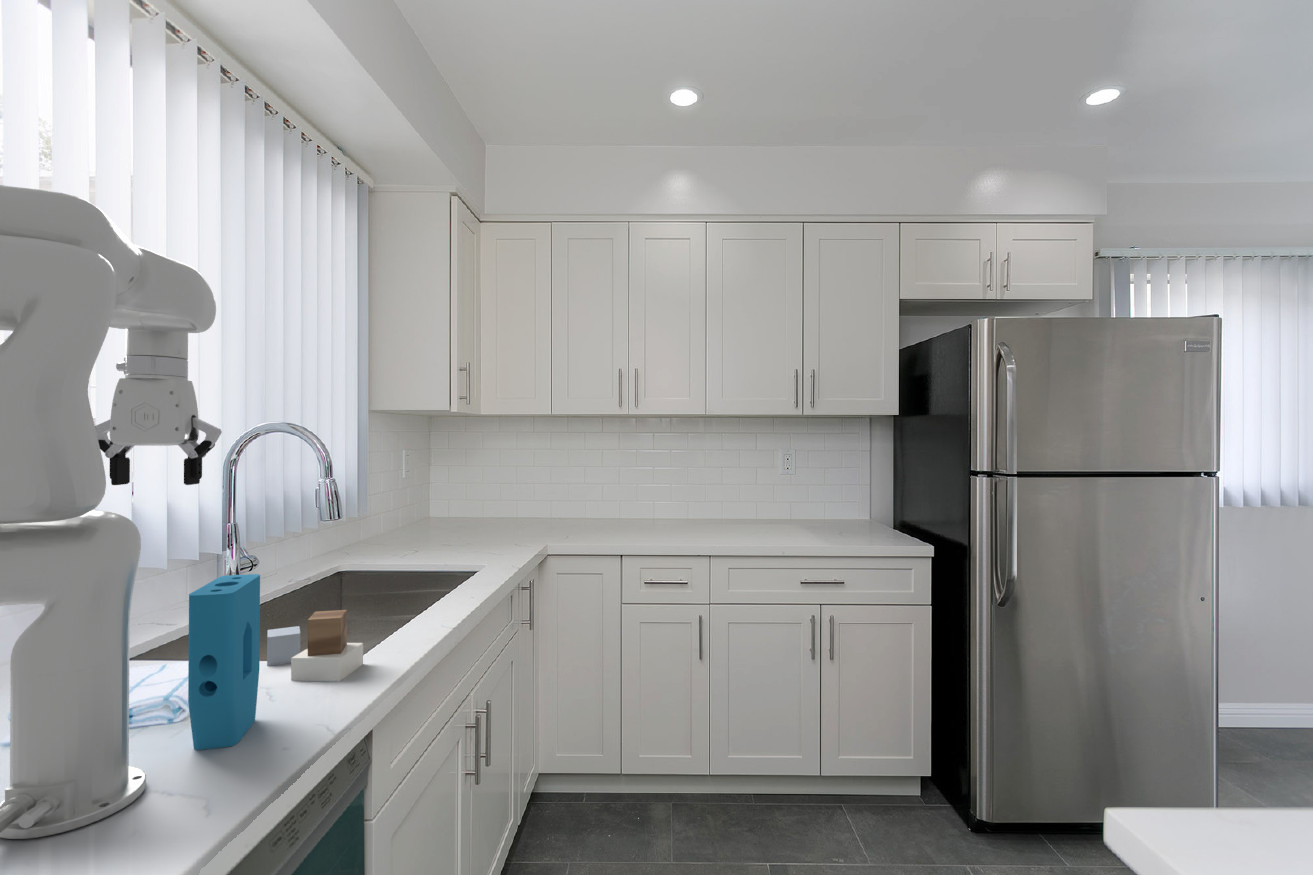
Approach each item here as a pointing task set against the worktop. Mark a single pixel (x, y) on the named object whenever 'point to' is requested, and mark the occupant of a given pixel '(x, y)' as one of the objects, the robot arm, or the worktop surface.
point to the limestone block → (327, 664)
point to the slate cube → (282, 645)
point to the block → (223, 660)
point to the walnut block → (327, 632)
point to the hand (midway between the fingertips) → (156, 484)
